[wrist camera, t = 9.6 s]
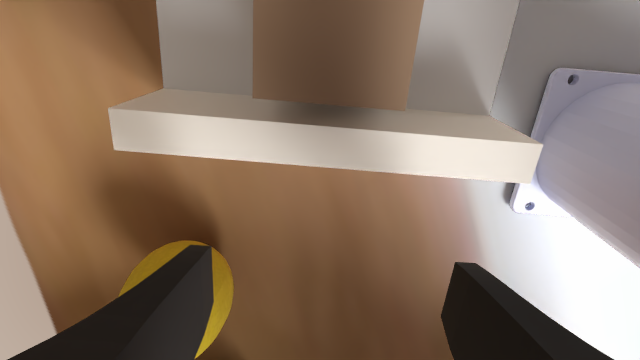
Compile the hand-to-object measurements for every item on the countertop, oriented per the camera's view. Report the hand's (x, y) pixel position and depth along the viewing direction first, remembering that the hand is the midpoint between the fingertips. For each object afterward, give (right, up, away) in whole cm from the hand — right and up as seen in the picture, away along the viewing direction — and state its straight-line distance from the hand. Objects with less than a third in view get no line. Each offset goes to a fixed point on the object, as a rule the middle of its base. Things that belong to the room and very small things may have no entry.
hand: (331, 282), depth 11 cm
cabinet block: (0, +10, +4) cm, 11 cm away
